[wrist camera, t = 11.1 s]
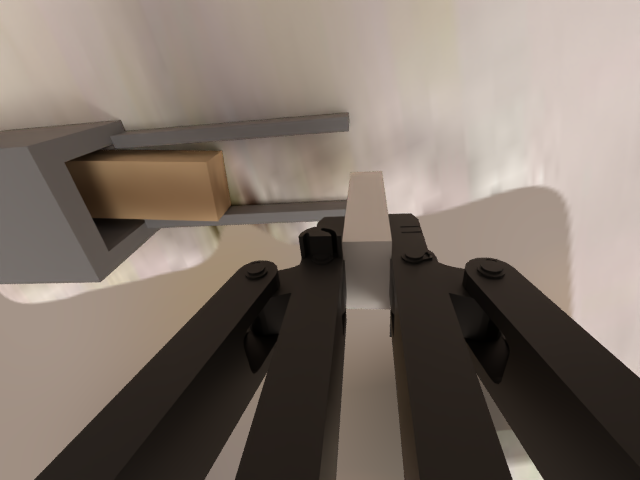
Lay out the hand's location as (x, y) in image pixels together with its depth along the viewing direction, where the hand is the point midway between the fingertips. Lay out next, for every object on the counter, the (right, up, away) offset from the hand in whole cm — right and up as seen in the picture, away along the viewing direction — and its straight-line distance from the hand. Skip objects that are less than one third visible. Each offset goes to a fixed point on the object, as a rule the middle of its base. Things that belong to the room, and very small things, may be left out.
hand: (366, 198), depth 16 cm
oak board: (-16, +3, +8) cm, 18 cm away
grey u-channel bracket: (-13, +2, +7) cm, 15 cm away
